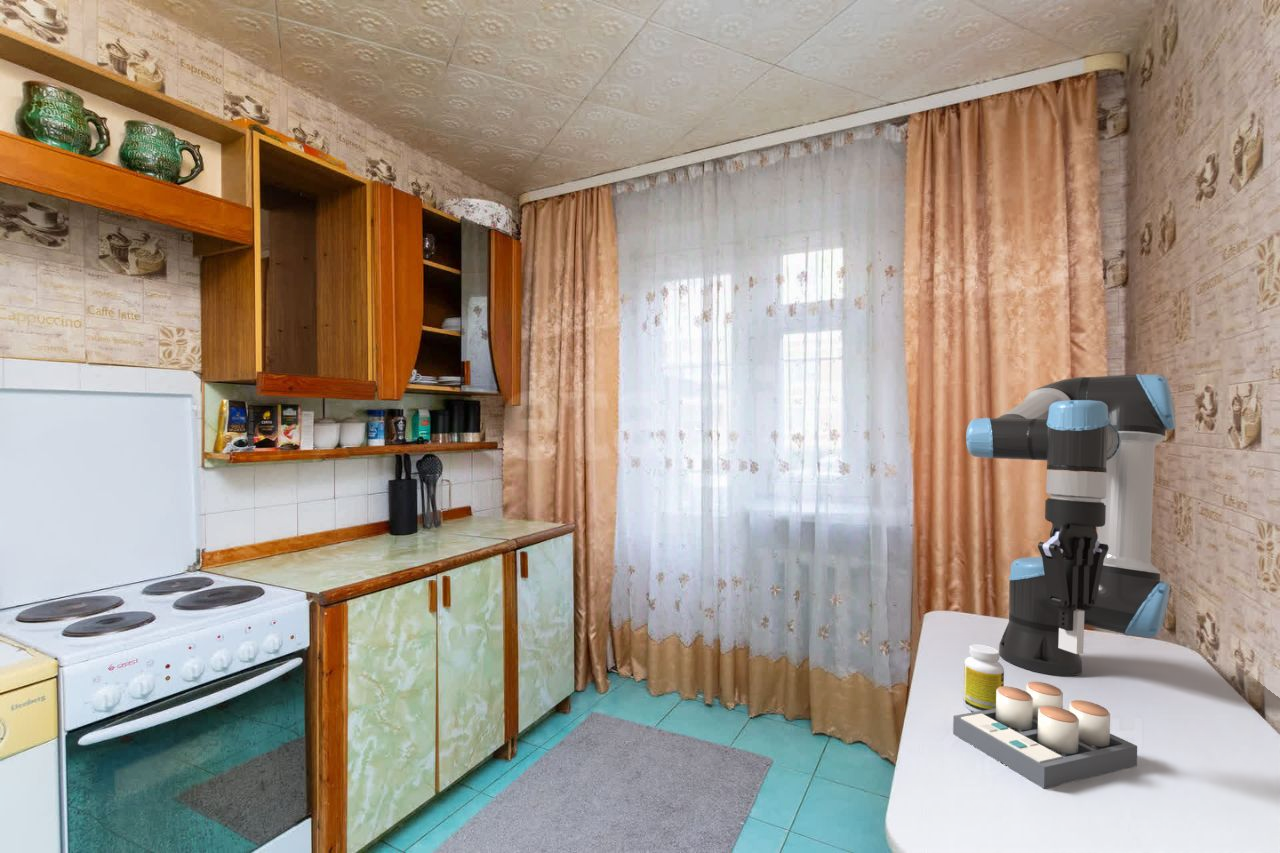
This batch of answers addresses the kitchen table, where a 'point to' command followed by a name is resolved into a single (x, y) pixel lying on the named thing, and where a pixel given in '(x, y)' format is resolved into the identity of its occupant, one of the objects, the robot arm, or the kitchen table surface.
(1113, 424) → the robot arm
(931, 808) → the kitchen table surface
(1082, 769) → the board
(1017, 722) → the button
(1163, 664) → the kitchen table surface
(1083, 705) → the button
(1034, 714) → the button
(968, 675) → the pill bottle
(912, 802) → the kitchen table surface
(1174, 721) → the kitchen table surface
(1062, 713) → the button
